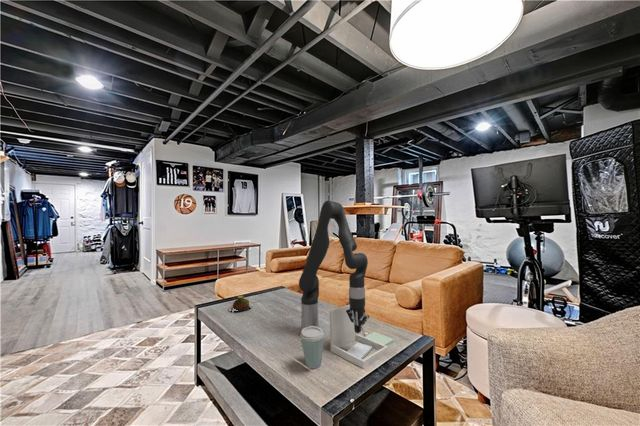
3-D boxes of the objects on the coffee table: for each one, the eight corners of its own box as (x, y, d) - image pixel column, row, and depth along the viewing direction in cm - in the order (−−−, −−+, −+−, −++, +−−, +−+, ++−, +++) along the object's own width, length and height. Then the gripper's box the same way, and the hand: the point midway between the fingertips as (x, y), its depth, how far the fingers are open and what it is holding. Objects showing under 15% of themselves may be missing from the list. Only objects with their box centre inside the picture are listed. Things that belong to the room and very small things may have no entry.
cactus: (246, 303, 200) (245, 290, 200) (257, 308, 189) (256, 294, 189) (224, 309, 188) (223, 296, 188) (234, 315, 177) (234, 300, 177)
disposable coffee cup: (330, 366, 113) (329, 331, 113) (309, 375, 107) (308, 338, 107) (316, 355, 122) (315, 323, 122) (296, 363, 116) (295, 329, 116)
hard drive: (360, 358, 116) (372, 346, 126) (344, 352, 121) (357, 341, 131) (360, 361, 116) (372, 349, 126) (344, 356, 121) (357, 345, 131)
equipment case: (363, 368, 111) (362, 323, 111) (330, 351, 126) (329, 311, 126) (389, 352, 123) (388, 311, 123) (356, 338, 138) (355, 302, 138)
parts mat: (382, 349, 126) (382, 346, 126) (362, 340, 135) (362, 337, 135) (394, 342, 133) (393, 339, 133) (374, 334, 142) (374, 331, 142)
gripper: (373, 297, 121) (373, 334, 121) (352, 291, 131) (352, 325, 131) (362, 300, 117) (363, 340, 116) (341, 294, 127) (342, 330, 126)
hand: (357, 332), depth 124 cm, fingers closed
